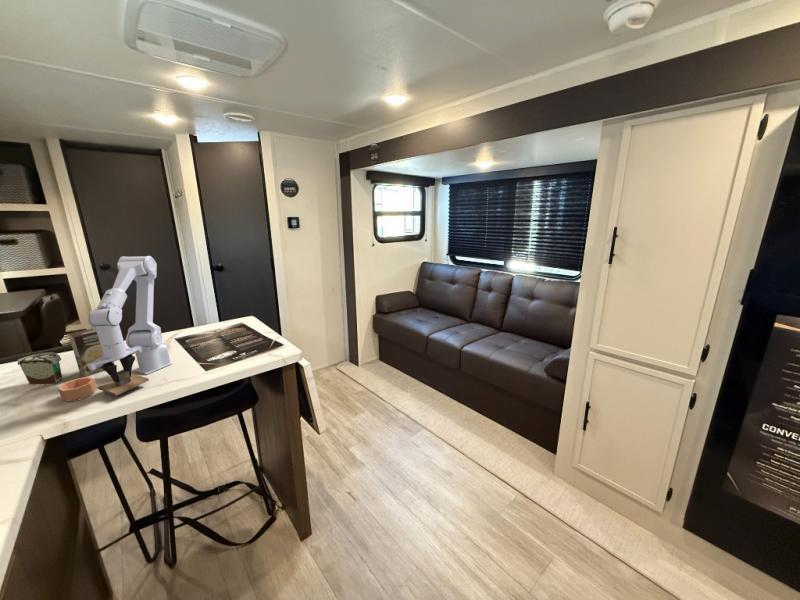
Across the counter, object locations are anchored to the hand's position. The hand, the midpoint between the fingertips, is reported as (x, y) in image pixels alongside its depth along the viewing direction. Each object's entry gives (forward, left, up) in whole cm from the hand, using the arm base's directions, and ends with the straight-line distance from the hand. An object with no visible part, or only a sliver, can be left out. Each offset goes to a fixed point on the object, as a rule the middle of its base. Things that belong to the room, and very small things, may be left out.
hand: (122, 378), depth 109 cm
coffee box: (-4, -26, -4) cm, 27 cm away
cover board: (0, 0, -2) cm, 2 cm away
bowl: (+8, -10, -4) cm, 14 cm away
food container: (+7, -32, -4) cm, 33 cm away
